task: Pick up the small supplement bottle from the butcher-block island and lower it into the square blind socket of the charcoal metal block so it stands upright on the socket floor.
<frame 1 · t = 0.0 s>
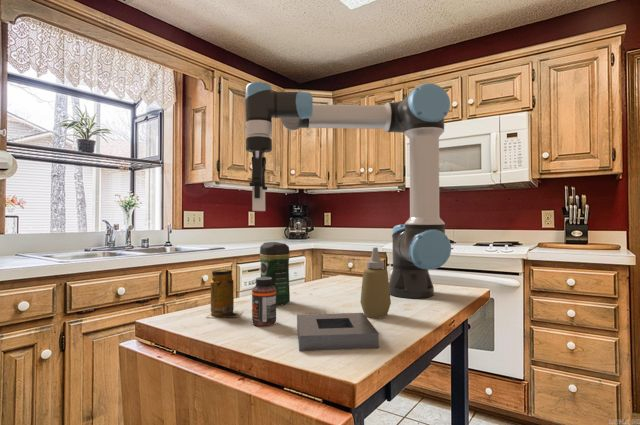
hand: (259, 211, 112), 28 cm above the table, tool pointing down, fingers open, 13 cm apart
coffee jar: (274, 303, 117), on the table
condiment: (225, 315, 104), on the table
supplement bottle: (264, 324, 95), on the table
socket block: (334, 336, 85), on the table
squeeze bottle: (375, 316, 102), on the table
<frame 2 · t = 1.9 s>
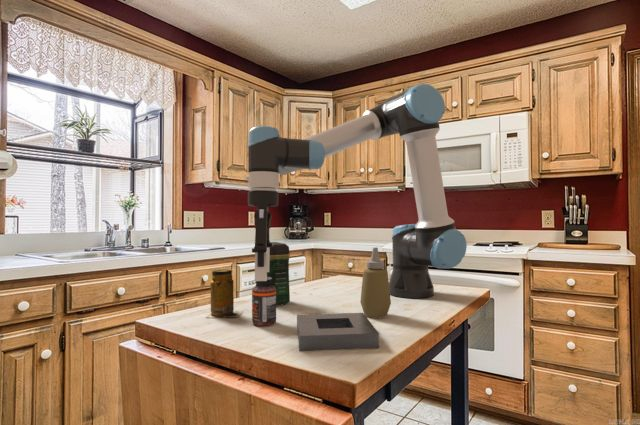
hand: (262, 276, 95), 12 cm above the table, tool pointing down, fingers open, 13 cm apart
nothing on the table moved.
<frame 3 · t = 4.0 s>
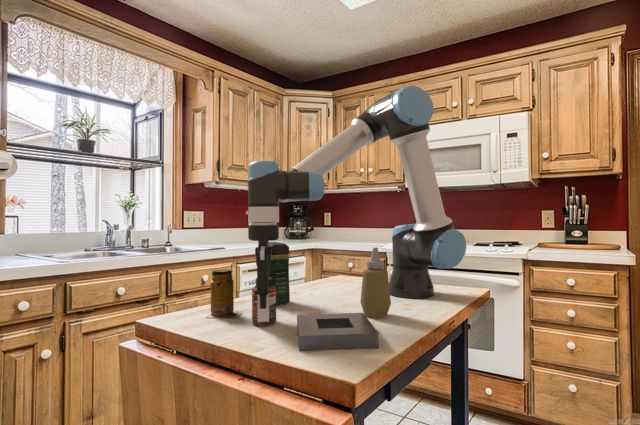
hand: (264, 317, 95), 2 cm above the table, tool pointing down, fingers closed on supplement bottle, 6 cm apart
supplement bottle: (264, 324, 95), on the table, touching gripper
everything else where it was.
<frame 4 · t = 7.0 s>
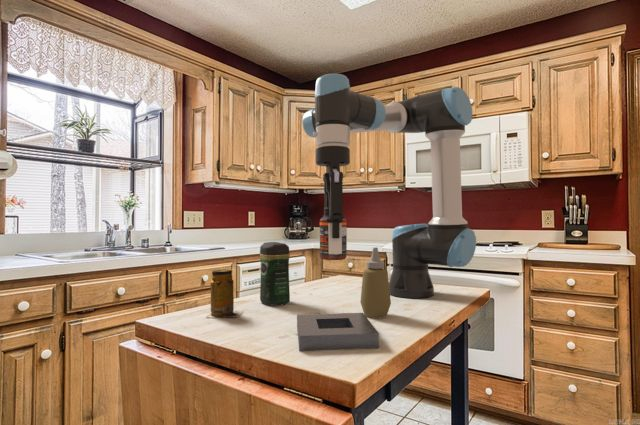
hand: (333, 252, 85), 19 cm above the table, tool pointing down, fingers closed on supplement bottle, 6 cm apart
supplement bottle: (333, 259, 85), point 17 cm above the table, touching gripper
everything else where it was.
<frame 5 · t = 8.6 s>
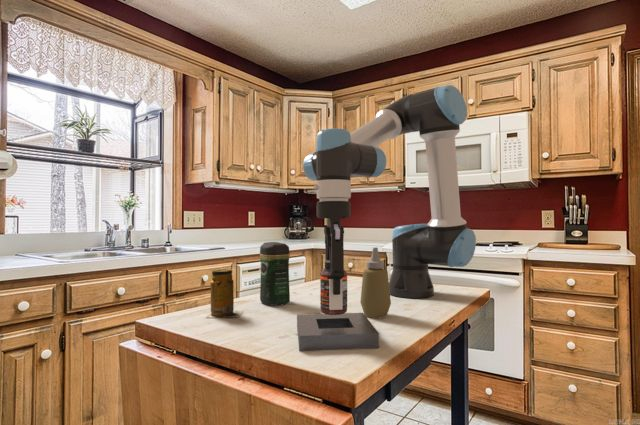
hand: (334, 305, 85), 7 cm above the table, tool pointing down, fingers closed on supplement bottle, 6 cm apart
supplement bottle: (333, 313, 85), point 5 cm above the table, touching gripper
everything else where it was.
when the fingers open (4 cm above the table, at t = 10.1 s): supplement bottle drops 2 cm, resting on socket block.
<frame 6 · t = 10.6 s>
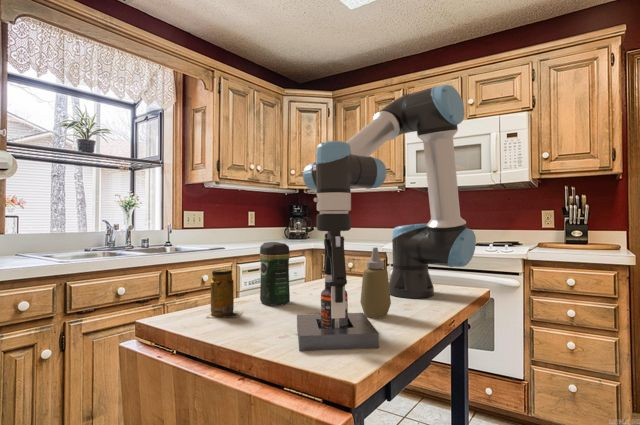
hand: (334, 309, 85), 6 cm above the table, tool pointing down, fingers open, 13 cm apart
supplement bottle: (334, 332, 85), point 1 cm above the table, touching socket block
everything else where it was.
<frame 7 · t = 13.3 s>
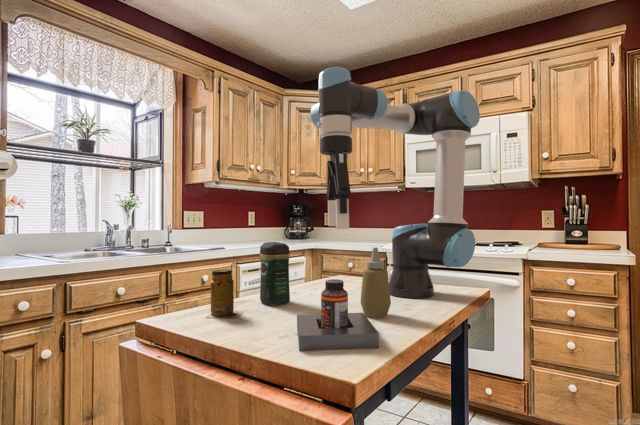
hand: (338, 227, 90), 24 cm above the table, tool pointing down, fingers open, 13 cm apart
nothing on the table moved.
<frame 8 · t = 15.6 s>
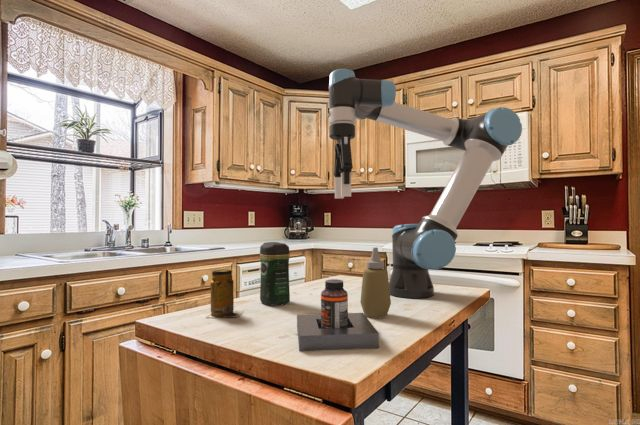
hand: (342, 197, 112), 32 cm above the table, tool pointing down, fingers open, 13 cm apart
nothing on the table moved.
at the end: supplement bottle 0.3 cm off-centre on the socket block, point 0.8 cm above the socket block's base; supplement bottle tilted 0°; the gripper is holding nothing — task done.
